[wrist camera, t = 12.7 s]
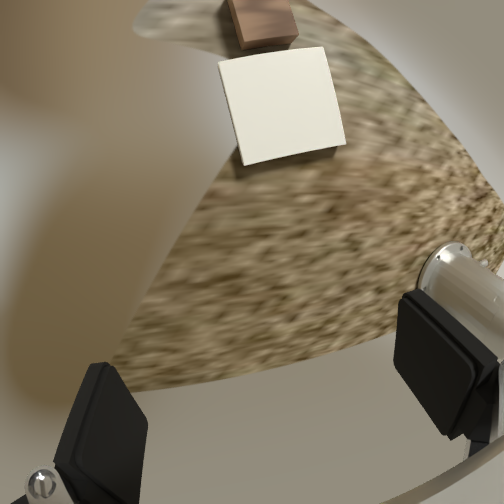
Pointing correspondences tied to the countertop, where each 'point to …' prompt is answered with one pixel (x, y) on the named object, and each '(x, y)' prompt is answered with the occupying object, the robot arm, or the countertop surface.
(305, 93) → the cutting board
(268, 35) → the two-tone wooden block
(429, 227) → the countertop surface
